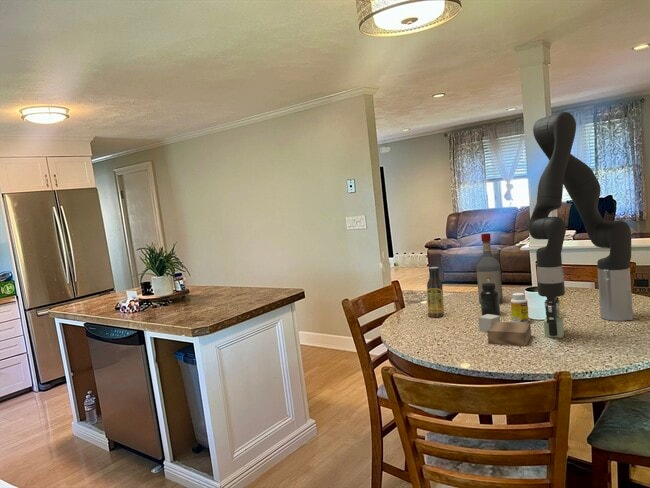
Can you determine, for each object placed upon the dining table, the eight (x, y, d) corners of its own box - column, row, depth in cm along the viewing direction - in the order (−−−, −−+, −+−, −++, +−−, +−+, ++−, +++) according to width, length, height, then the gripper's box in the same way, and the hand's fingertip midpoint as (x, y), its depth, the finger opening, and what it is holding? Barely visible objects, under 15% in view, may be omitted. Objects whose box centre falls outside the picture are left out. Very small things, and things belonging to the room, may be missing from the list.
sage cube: (563, 333, 142) (562, 317, 141) (562, 337, 138) (561, 321, 137) (546, 332, 145) (545, 317, 144) (544, 336, 140) (543, 321, 140)
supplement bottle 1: (492, 311, 178) (489, 281, 177) (504, 314, 171) (501, 284, 170) (477, 314, 176) (475, 284, 175) (489, 317, 169) (486, 286, 168)
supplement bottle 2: (523, 324, 155) (520, 296, 155) (508, 322, 160) (506, 294, 159) (532, 321, 159) (530, 293, 158) (518, 319, 163) (515, 291, 162)
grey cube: (501, 330, 153) (499, 315, 152) (492, 333, 150) (491, 319, 149) (488, 327, 157) (487, 314, 156) (479, 331, 154) (478, 317, 153)
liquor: (501, 305, 186) (496, 234, 184) (478, 305, 190) (473, 235, 188) (503, 300, 194) (497, 232, 192) (481, 300, 198) (475, 233, 196)
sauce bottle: (427, 318, 178) (422, 269, 177) (429, 314, 184) (425, 266, 183) (444, 317, 176) (439, 268, 174) (446, 314, 181) (441, 265, 180)
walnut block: (531, 335, 143) (530, 323, 143) (526, 345, 134) (525, 332, 134) (495, 333, 149) (494, 321, 149) (488, 343, 140) (487, 330, 140)
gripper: (562, 284, 132) (566, 340, 133) (565, 276, 144) (569, 327, 145) (534, 284, 136) (538, 339, 137) (540, 276, 148) (543, 326, 149)
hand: (554, 332), depth 141 cm, fingers closed on sage cube, 5 cm apart
